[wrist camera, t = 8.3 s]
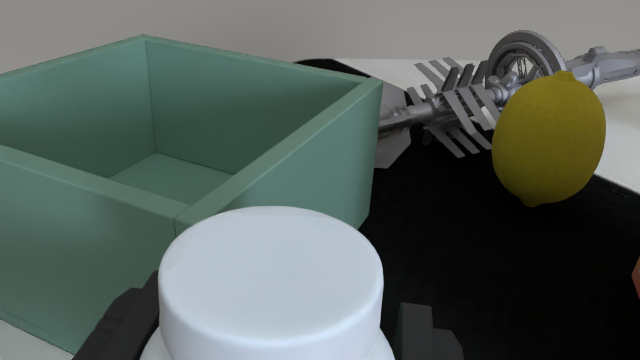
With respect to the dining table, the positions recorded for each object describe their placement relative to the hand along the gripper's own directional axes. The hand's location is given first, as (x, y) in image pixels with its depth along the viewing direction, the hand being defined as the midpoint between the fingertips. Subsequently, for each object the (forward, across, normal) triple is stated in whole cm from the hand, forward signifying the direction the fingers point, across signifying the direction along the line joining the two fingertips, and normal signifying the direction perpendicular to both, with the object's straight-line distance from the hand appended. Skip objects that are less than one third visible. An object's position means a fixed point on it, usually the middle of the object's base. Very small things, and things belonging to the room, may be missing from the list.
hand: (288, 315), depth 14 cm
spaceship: (+28, -12, +6) cm, 31 cm away
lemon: (+18, -11, +6) cm, 22 cm away
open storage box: (+10, +7, +6) cm, 14 cm away
